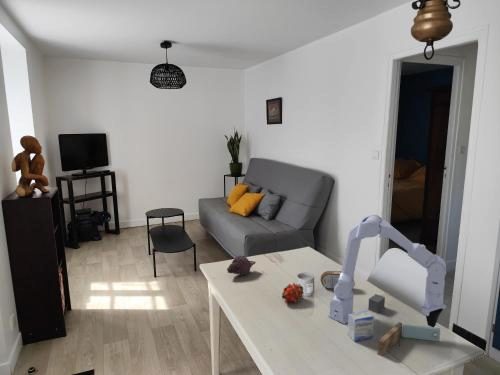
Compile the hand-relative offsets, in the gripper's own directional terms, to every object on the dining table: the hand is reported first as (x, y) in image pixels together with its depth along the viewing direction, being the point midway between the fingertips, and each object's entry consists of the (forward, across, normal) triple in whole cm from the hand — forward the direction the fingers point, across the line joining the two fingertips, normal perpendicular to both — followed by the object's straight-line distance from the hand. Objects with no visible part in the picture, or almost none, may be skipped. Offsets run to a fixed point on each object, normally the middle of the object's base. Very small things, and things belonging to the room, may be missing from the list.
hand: (431, 325), depth 125 cm
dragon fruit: (+5, -16, +52) cm, 55 cm away
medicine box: (+5, -18, +18) cm, 26 cm away
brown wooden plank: (+4, -15, +8) cm, 18 cm away
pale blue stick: (+4, -4, +2) cm, 6 cm away
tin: (+5, +8, +45) cm, 46 cm away
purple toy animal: (+5, -14, +89) cm, 90 cm away
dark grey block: (+5, +4, +23) cm, 24 cm away
